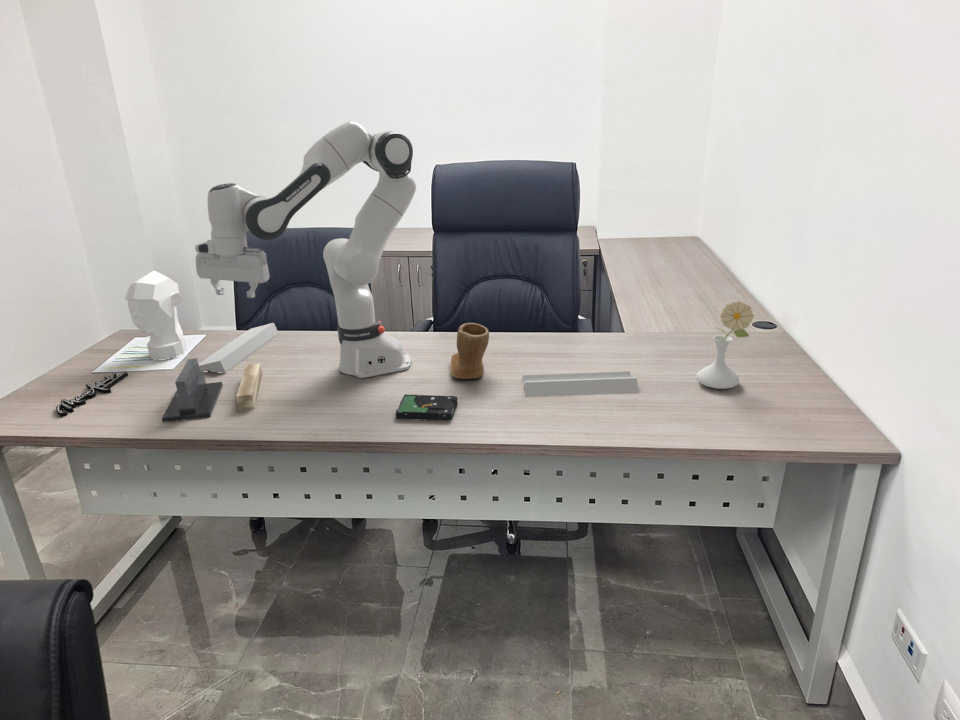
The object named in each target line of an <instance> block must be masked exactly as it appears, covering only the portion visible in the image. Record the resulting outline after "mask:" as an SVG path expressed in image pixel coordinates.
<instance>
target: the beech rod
mask: <svg viewBox="0 0 960 720" xmlns="http://www.w3.org/2000/svg"><path fill="white" fill-rule="evenodd" d="M243 371H244V372H243V375H242V377H241V381H240V384H239V387H238V389H237V393H236V396H235V397H236V400H237V401H236V402H237V407H238V411H243V409H245V410H253V409H255V407H256V404H257V403H256V402H257V400H258V399H257V398H258V395H259V391H260V387H261V384H262V379H263V371H262V366H261V363H252V364H251V363H250V364H246V365H245V367H244V370H243ZM252 408H253V409H252Z"/></svg>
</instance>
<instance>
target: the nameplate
mask: <svg viewBox="0 0 960 720" xmlns="http://www.w3.org/2000/svg"><path fill="white" fill-rule="evenodd" d="M128 373H129V372H128V371H123V372H122V373H120V374H118V375H117V373H116V372H113V373H112V374H111V375H107V376H104V377H103V379H102V380H100V381H95V382H94V384H91V383H86V384H85V386H86V389H87V391H85V392H81V394H80V395H78V396H74V398H70V399H69V400H68V399H64V398H63V399H60V403H59V404H57V405H56V408H55V411H56V414H57V415H58V417H60V418H64V417H65V418H66V417H67V416H68V413H70V414H71V413H74V409H75V408H76V407H81V405H82V406H84V405H86V404H87V401H86V400H91V399H94V398H96V396H97V393H100V394H111V393H112V390H111V388H113V387H115V386H116V385H117V384H119V383H120V382H121V381H123V380H124V379H125V378H127V377H128V376H129V374H128ZM62 408H63V409H62ZM61 410H62V411H61Z"/></svg>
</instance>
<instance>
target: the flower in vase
mask: <svg viewBox="0 0 960 720" xmlns="http://www.w3.org/2000/svg"><path fill="white" fill-rule="evenodd" d="M753 312H754V311H753V310H752V307H751V305H750V304H747V303H745V302H743V301H740V300H738V301H733V302H731V303H729V304H728V303H727V304H726V305H725V306H724V308H723V309H722V310H721V313H720V315H719V317H720V319H721V322H722V326H724V327H725V328H727V329H730V331H729V332H728V333H726V331H725V330H723V329H721V328H719V327H717V326H716V325H714V327H715V328H716V329H717V330H718V331H721V332H723V333H724V334H726V335H724V334H719V335H718V334H716V335H714V336H712V339H713V341H714V342H715V346H716V356H715V359H714V361H713V363H711V364H709V365H707V366H705V367H703V368H702V369H700V370H699V371H698V372H697V374H696V376H695V377H696V380H697V381H698V382H699V383H700V384H702V385H703V386H706V387H709V388H713V389H717V390H720V389H721V390H723V389H724V390H725V389H732V388H734V387H737V386H738V384H740V378H739V377H740V376H739V375H738V374H737V373H736V372H735V371H734V370H733V369H731V367H729V366H728V365H727V364H726V361H725V358H726V352H727V349H728V347H729V344H730V343H731V342H732V341H733V340H734V339H733V338H732V337H731V336H730V334H731V333H733V334H734V335H735V337H737V338H748V337H750V335H749V333H748V332H747V331H746V328H748V327H749V326H750V324H751V323H752V322H753V320H754V317H755V314H754V313H753Z"/></svg>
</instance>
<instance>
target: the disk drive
mask: <svg viewBox="0 0 960 720" xmlns="http://www.w3.org/2000/svg"><path fill="white" fill-rule="evenodd" d="M457 406H458V396H455V395H432V394H431V395H429V394H428V395H426V394H404V395H403V396H402V398H401V400H400V402H399V405H398V406H397V409H396V410H395V419H396V420H414V419H419V420H420V419H422V420H421V421H440V420H445V422H446V420H447V422H449V421H448V420H451V421H452V419H453V417H454V414H455V412H456V408H457ZM424 419H425V420H424ZM419 420H418V421H419Z"/></svg>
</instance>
